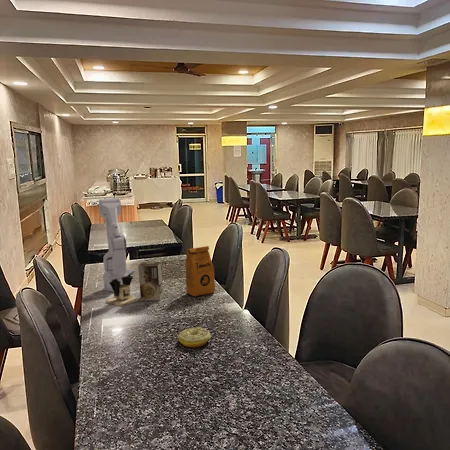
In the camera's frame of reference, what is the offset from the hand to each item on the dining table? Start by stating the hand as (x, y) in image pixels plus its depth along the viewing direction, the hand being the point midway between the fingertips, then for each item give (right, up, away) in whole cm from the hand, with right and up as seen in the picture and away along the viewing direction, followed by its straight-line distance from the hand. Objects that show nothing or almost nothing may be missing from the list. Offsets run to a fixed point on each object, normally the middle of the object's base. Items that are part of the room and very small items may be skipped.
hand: (121, 293), depth 180 cm
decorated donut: (+35, -10, -41) cm, 55 cm away
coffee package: (+35, -1, +8) cm, 36 cm away
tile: (0, -3, +1) cm, 3 cm away
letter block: (0, -2, 0) cm, 2 cm away
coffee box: (+13, -3, +3) cm, 14 cm away
